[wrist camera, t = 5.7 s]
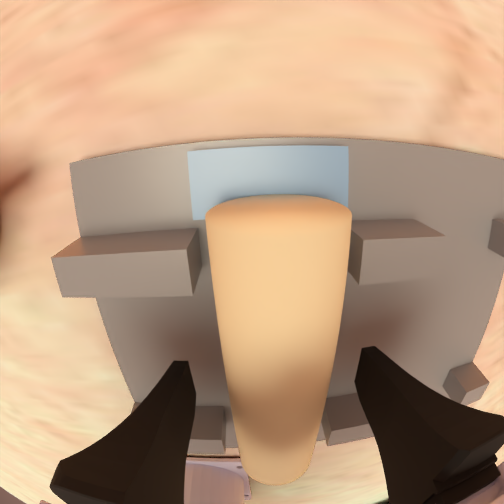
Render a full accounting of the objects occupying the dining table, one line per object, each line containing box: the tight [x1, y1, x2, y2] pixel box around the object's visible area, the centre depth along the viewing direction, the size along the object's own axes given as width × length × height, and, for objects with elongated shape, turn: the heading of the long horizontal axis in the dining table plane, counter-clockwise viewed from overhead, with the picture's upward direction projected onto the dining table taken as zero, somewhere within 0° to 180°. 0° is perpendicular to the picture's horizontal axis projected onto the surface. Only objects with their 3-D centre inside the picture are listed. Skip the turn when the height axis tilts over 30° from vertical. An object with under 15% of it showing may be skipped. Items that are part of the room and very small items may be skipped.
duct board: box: [51, 137, 504, 454], centre depth 12 cm, size 18×22×3 cm
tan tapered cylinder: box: [205, 194, 352, 485], centre depth 11 cm, size 14×4×4 cm, turn 3°
